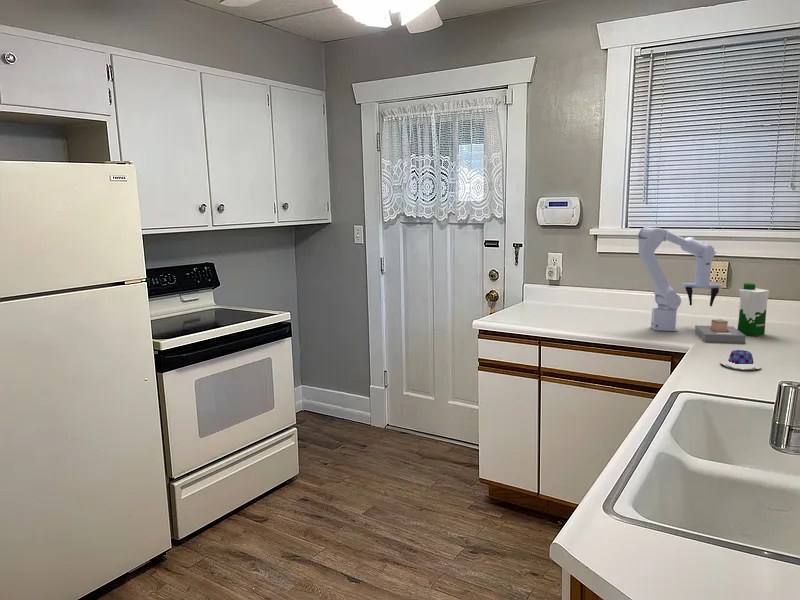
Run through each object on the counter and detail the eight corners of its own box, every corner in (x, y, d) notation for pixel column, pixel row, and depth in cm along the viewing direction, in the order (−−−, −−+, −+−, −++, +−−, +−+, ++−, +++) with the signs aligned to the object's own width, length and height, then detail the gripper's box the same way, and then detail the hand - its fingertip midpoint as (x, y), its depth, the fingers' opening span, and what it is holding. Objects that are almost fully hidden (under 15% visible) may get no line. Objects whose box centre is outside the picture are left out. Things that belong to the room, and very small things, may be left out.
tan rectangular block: (717, 339, 236) (718, 321, 235) (710, 337, 240) (711, 319, 239) (726, 338, 237) (727, 321, 235) (719, 336, 240) (720, 319, 239)
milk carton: (746, 330, 250) (750, 282, 246) (768, 334, 242) (773, 285, 238) (733, 333, 246) (737, 284, 242) (754, 337, 238) (759, 287, 234)
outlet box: (704, 342, 232) (705, 333, 232) (694, 332, 248) (695, 324, 247) (745, 343, 229) (745, 335, 228) (732, 333, 244) (733, 326, 244)
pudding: (712, 366, 202) (713, 350, 201) (732, 360, 208) (733, 345, 207) (748, 374, 192) (749, 358, 191) (768, 368, 198) (770, 352, 197)
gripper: (684, 274, 252) (682, 306, 254) (723, 275, 246) (721, 308, 249) (683, 271, 258) (681, 303, 261) (721, 273, 253) (719, 305, 255)
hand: (700, 305), depth 255 cm, fingers open, 7 cm apart
